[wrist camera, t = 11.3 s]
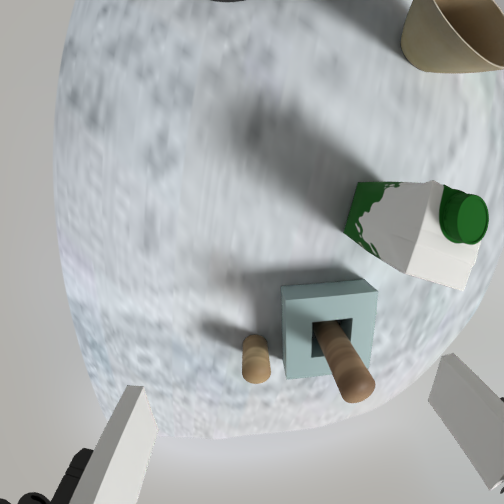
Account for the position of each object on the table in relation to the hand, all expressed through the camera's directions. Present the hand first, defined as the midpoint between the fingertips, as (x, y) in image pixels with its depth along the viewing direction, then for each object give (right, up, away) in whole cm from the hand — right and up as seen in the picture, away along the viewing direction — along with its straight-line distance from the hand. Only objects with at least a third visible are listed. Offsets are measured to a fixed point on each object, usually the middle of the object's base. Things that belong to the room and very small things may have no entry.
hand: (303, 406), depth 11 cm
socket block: (+8, -4, +30) cm, 32 cm away
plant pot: (+24, +38, +21) cm, 49 cm away
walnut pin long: (+8, -4, +30) cm, 32 cm away
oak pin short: (-2, -7, +31) cm, 32 cm away
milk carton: (+14, +11, +27) cm, 33 cm away
